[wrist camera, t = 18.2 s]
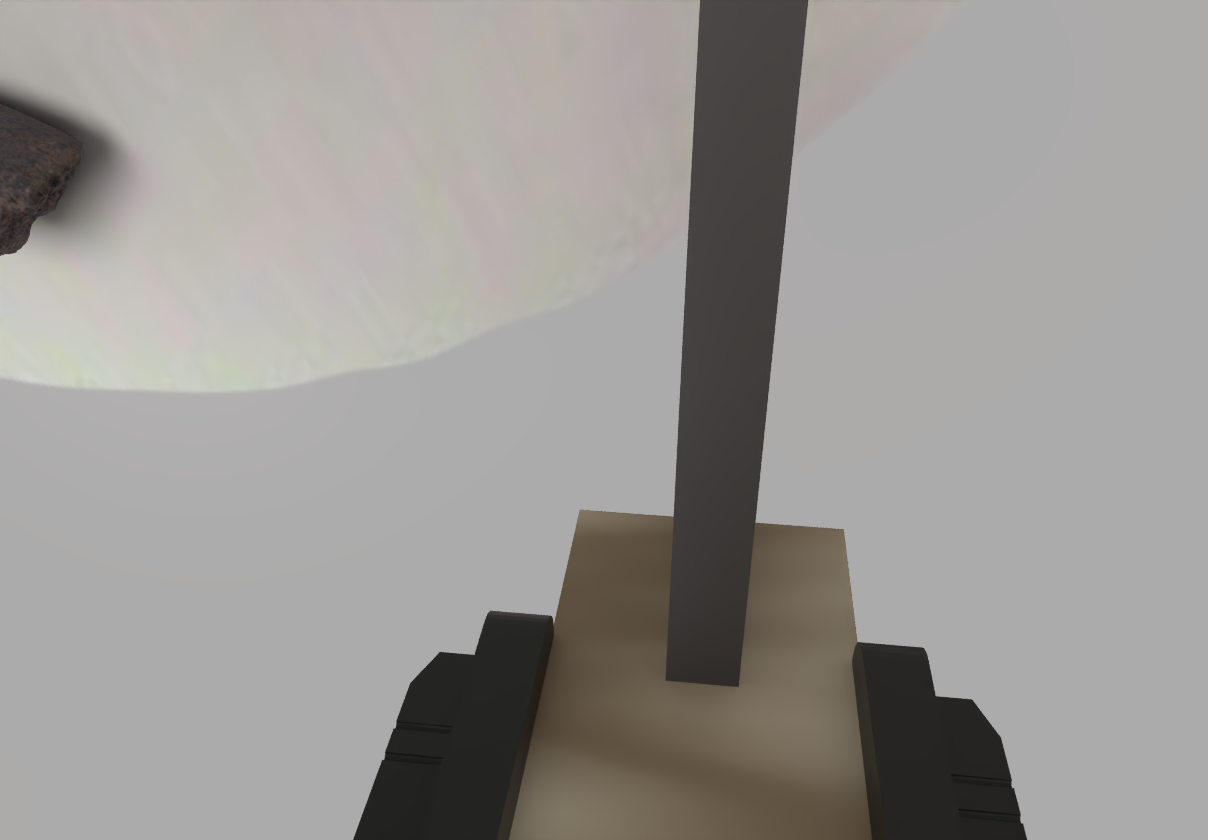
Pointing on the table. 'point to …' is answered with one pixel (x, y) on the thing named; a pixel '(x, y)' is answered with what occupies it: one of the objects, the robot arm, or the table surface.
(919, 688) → the robot arm
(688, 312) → the blade tool
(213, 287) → the table surface
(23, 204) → the perforated stone tool
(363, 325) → the table surface
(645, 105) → the table surface
